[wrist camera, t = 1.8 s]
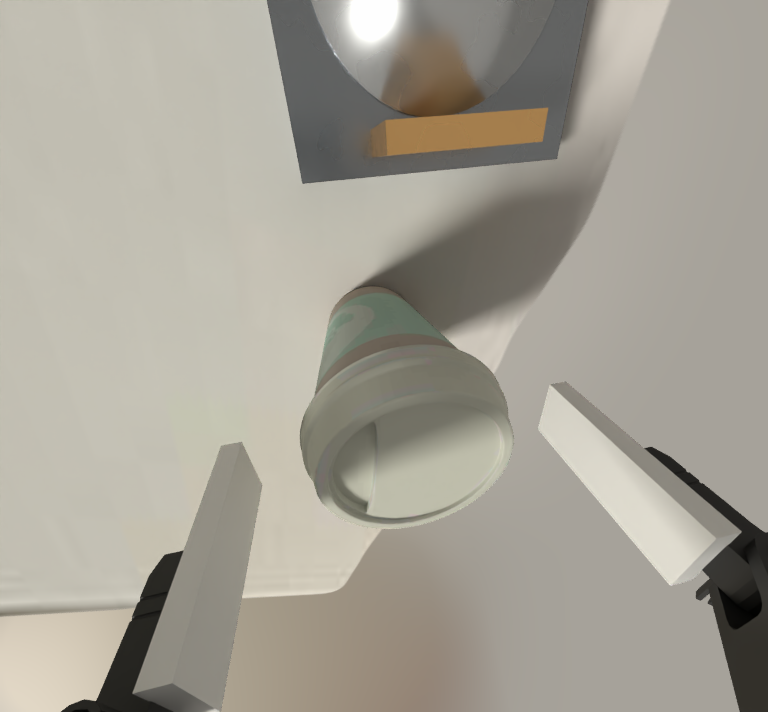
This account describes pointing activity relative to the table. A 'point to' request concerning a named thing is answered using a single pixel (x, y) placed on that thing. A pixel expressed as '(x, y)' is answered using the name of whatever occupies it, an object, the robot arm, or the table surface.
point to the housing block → (424, 82)
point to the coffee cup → (400, 418)
